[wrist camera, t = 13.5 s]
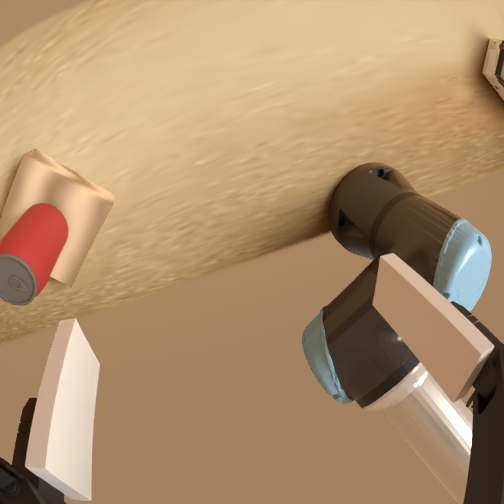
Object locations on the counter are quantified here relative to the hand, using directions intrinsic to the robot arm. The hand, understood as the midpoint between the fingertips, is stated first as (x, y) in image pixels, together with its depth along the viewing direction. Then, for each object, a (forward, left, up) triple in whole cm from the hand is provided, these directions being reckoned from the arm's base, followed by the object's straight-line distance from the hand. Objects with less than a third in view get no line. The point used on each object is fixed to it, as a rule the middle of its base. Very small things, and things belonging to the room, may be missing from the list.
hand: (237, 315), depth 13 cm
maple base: (+11, +15, -30) cm, 35 cm away
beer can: (+11, +15, -26) cm, 32 cm away
